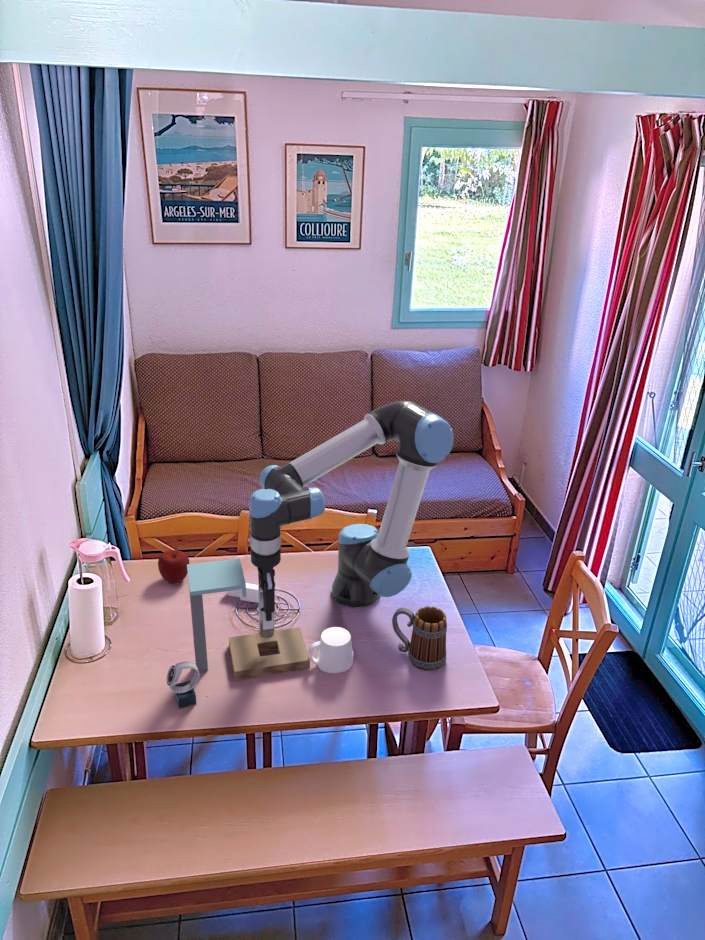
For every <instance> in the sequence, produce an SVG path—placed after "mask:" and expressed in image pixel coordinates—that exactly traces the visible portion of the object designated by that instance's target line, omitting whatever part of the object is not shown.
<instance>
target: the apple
mask: <svg viewBox="0 0 705 940" xmlns="http://www.w3.org/2000/svg"><path fill="white" fill-rule="evenodd" d="M187 564H190V558H189V556H188V555H187V554H186V552H184V551H181V550H179V549H171V550H166V551H165V552H163V553H162V554H160V556H159V558H158V560H157V566H158V571H159V574H160V576H161V577H162V579H163V580H164V581H165V582H167V583H168V584H171V585H177V584H179V583H182V582H183V581H184V580H185V579H186V577H187V576H188V570H187Z"/></svg>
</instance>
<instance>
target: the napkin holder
mask: <svg viewBox="0 0 705 940" xmlns="http://www.w3.org/2000/svg"><path fill="white" fill-rule="evenodd" d="M245 583H246V597H243V594H242V589H240V590H232V591H226V594H227V596H230V597H235V598H239V600H240V601H246V602H251V603H257V604H259V598H258V590H259V589H258V587H259V584H255V583H250V582H245Z"/></svg>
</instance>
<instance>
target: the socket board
mask: <svg viewBox="0 0 705 940" xmlns="http://www.w3.org/2000/svg"><path fill="white" fill-rule="evenodd" d="M228 648H229V653H230V658H231V664H232V670H233V671H232V672H233V677H234V681H235V682H236V681H240V680H241V681H242V680H249V679H253V678H261V677H266V676H272V675H273V676H274V675H278V674H285V673H292V672H298V671H299V672H300V671H304V670H310V669H311V659H310V656H309V651H308V649H307V646H306V643H305V640H304V636H303V634H302V630H301V627H292V628H285V629H278V630H277V629H276V630H274V635H273V636H272V637H271V638H262V637H261V636H260V635H259V632H258V633H251V634H243V635H237V636H229V637H228ZM273 650H277V653H274V654H269V655H263V656H261V654H260V653H261V652H265V651H273Z"/></svg>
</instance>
